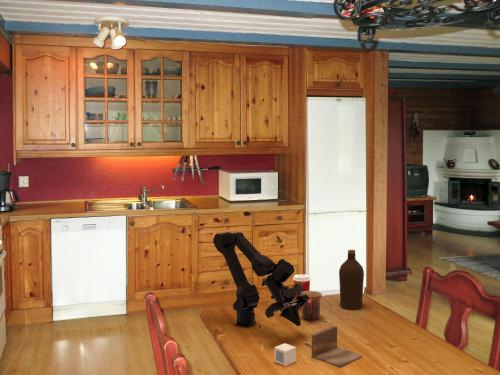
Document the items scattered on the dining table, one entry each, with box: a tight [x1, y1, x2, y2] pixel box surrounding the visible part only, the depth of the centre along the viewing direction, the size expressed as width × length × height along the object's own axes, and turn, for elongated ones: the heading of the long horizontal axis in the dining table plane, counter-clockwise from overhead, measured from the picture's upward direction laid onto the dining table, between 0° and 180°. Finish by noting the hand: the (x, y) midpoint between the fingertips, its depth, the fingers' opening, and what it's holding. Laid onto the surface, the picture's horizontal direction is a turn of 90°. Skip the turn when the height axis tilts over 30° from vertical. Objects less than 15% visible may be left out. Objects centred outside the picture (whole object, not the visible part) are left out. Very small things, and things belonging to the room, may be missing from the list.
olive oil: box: [338, 249, 365, 311], centre depth 235 cm, size 11×11×25 cm
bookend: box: [311, 325, 363, 369], centre depth 182 cm, size 12×12×8 cm
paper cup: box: [292, 273, 312, 311], centre depth 235 cm, size 8×8×14 cm
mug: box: [300, 290, 323, 321], centre depth 220 cm, size 12×9×10 cm
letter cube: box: [273, 342, 297, 367], centre depth 179 cm, size 5×5×5 cm
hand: (299, 325), depth 194 cm, fingers closed
